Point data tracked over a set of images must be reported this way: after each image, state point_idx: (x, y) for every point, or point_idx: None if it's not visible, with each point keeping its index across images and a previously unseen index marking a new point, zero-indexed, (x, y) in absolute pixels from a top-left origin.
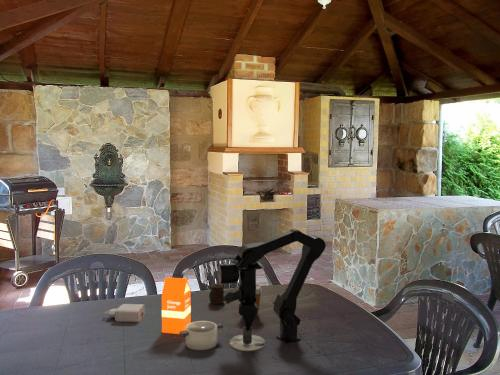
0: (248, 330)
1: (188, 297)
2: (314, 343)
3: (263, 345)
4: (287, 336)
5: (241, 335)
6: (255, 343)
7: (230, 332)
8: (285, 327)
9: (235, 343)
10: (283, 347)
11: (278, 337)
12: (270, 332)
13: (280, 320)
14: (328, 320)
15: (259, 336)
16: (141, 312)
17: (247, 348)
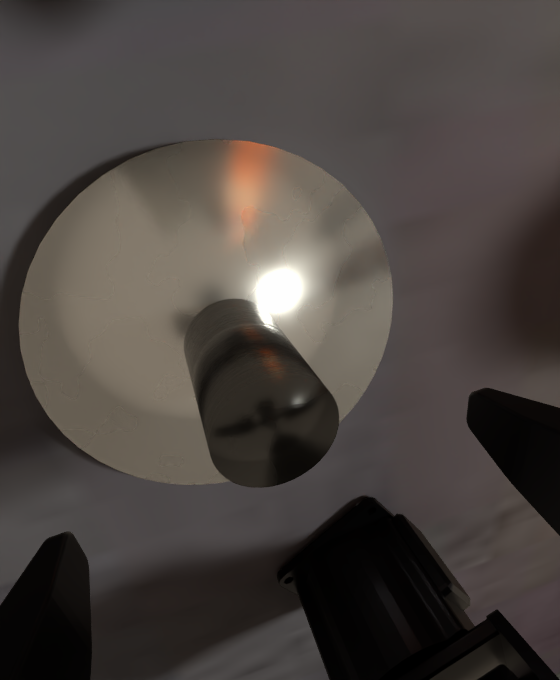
0: (211, 458)
1: None
2: (297, 664)
3: (193, 478)
4: (318, 600)
5: (366, 250)
6: (200, 423)
7: (469, 96)
8: (351, 664)
9: (145, 232)
10: (209, 579)
11: (348, 518)
12: (442, 437)
13: (454, 628)
14: (545, 605)
15: (351, 409)
16: None
17: (53, 392)
